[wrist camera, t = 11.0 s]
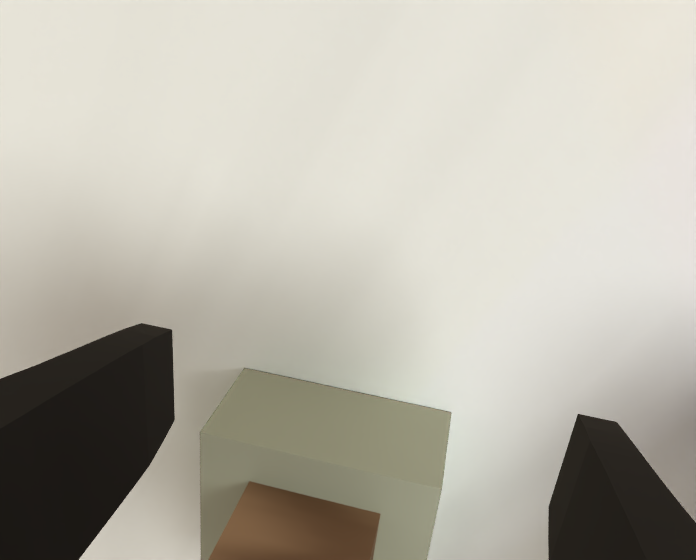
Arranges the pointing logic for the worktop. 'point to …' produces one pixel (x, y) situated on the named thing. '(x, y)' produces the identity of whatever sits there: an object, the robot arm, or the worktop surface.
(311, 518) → the walnut cube
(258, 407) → the sage base block
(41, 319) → the worktop surface
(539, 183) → the worktop surface
